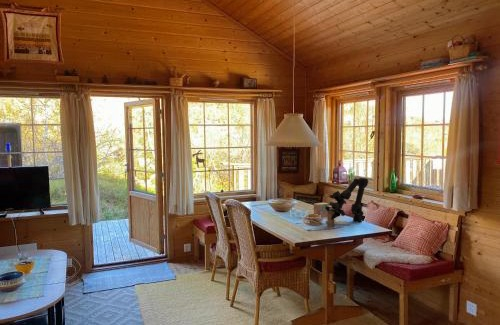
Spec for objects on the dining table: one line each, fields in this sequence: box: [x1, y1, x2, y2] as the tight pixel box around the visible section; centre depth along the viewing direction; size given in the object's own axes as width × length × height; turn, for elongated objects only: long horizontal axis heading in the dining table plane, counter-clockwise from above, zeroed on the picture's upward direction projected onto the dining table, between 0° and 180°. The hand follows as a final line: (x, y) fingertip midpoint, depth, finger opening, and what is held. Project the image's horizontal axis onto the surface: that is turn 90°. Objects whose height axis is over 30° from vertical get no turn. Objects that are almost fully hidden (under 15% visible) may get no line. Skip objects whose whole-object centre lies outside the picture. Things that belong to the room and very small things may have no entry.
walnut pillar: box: [326, 211, 335, 228], centre depth 318 cm, size 4×4×12 cm
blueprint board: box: [325, 219, 350, 226], centre depth 328 cm, size 18×11×2 cm, turn 91°
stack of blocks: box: [313, 202, 333, 218], centre depth 357 cm, size 21×6×12 cm, turn 109°
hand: (329, 218), depth 317 cm, fingers closed on walnut pillar, 4 cm apart
